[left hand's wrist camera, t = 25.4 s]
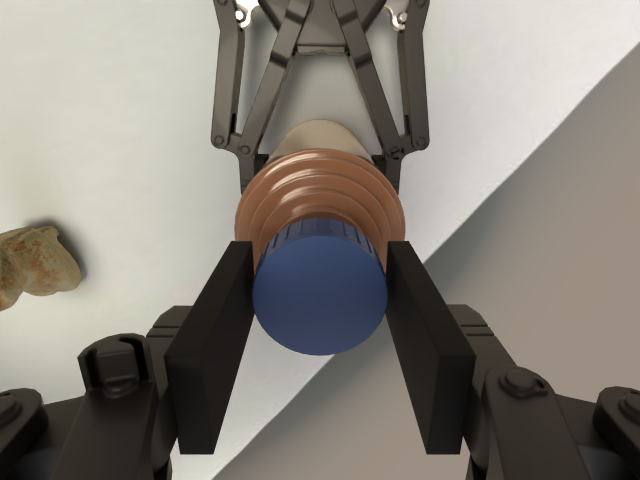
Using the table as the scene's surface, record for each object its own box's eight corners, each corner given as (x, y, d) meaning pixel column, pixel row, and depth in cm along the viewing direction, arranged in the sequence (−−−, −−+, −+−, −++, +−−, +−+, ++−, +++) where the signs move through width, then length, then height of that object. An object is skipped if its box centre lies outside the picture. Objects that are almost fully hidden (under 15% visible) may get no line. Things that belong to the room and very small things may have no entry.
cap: (247, 311, 15) (237, 340, 13) (274, 201, 13) (267, 217, 12) (359, 338, 15) (364, 369, 14) (398, 234, 14) (409, 255, 12)
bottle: (273, 203, 37) (203, 373, 15) (278, 114, 34) (201, 159, 12) (357, 211, 37) (414, 390, 15) (369, 124, 34) (460, 185, 12)
